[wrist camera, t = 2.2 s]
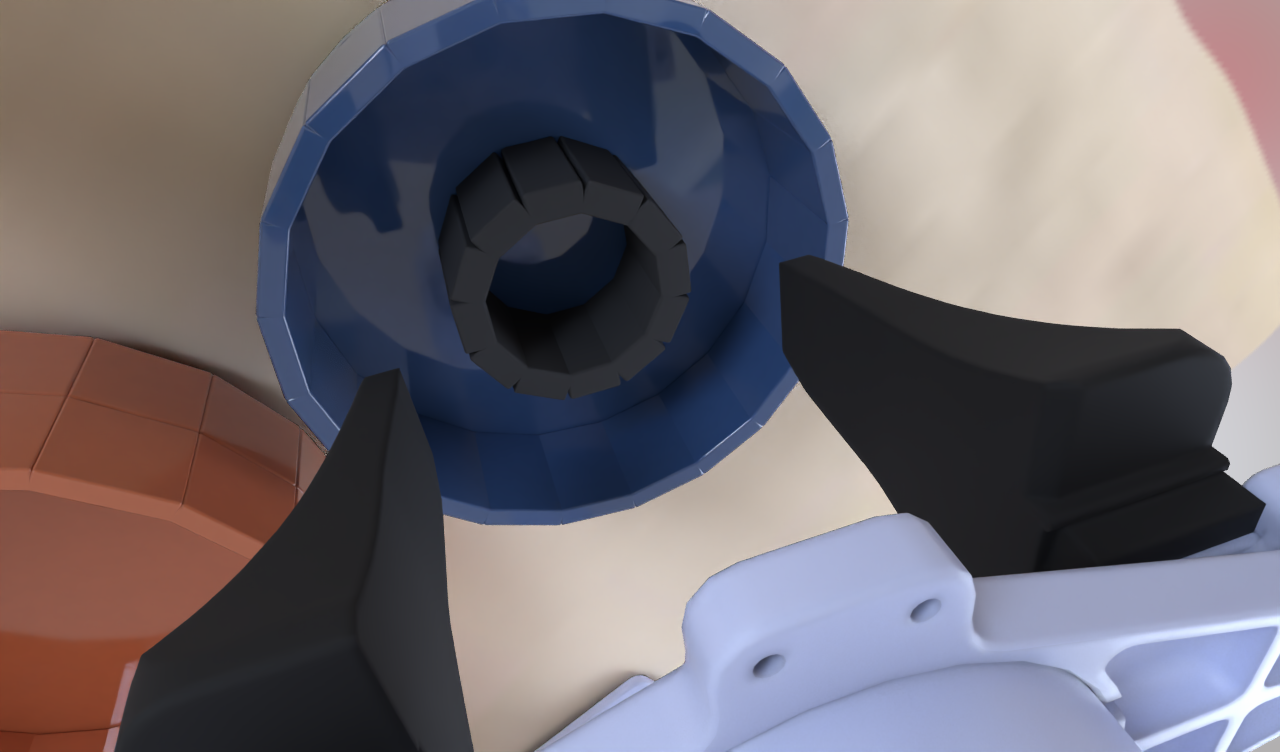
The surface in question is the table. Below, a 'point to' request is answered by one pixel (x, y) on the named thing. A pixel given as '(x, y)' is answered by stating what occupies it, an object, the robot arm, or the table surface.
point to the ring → (579, 336)
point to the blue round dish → (543, 237)
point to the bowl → (120, 520)
